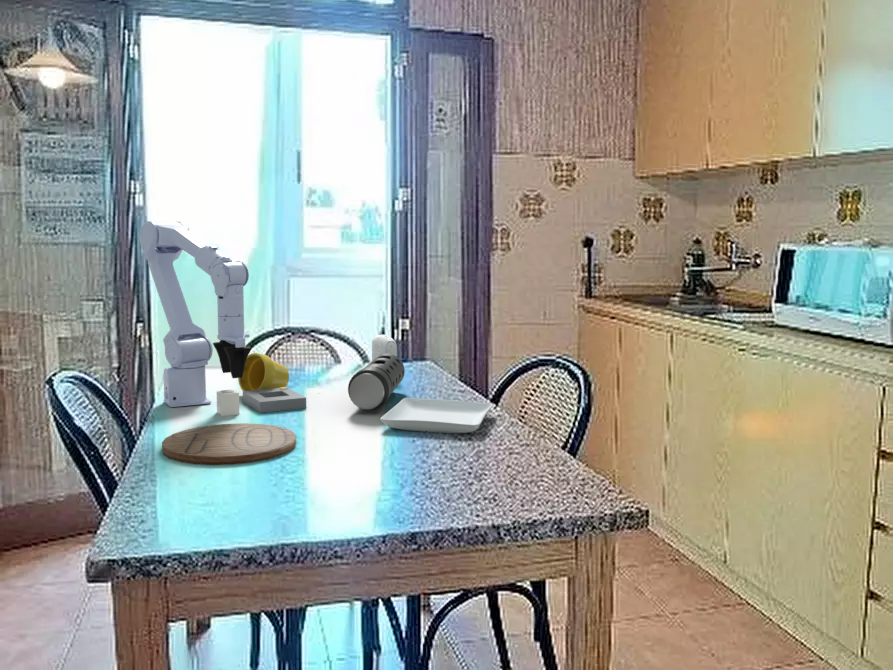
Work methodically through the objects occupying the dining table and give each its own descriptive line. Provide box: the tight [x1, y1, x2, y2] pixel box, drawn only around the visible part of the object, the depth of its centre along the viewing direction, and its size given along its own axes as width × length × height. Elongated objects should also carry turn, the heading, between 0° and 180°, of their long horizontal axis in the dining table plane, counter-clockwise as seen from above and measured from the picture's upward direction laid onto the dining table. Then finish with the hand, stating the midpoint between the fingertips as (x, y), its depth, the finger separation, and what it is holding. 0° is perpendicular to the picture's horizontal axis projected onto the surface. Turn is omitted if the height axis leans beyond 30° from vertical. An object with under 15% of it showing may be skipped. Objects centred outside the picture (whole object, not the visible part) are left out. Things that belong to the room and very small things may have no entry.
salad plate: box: [380, 397, 494, 434], centre depth 180 cm, size 21×21×3 cm
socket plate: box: [242, 386, 307, 414], centre depth 196 cm, size 11×14×3 cm
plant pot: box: [237, 352, 290, 392], centre depth 209 cm, size 10×10×10 cm
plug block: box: [216, 389, 240, 417], centre depth 187 cm, size 4×4×5 cm
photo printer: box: [371, 334, 398, 365], centre depth 231 cm, size 10×4×12 cm, turn 28°
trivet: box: [161, 422, 297, 466], centre depth 159 cm, size 25×25×2 cm
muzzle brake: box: [347, 354, 406, 411], centre depth 199 cm, size 10×28×10 cm, turn 174°
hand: (232, 375), depth 187 cm, fingers open, 7 cm apart
